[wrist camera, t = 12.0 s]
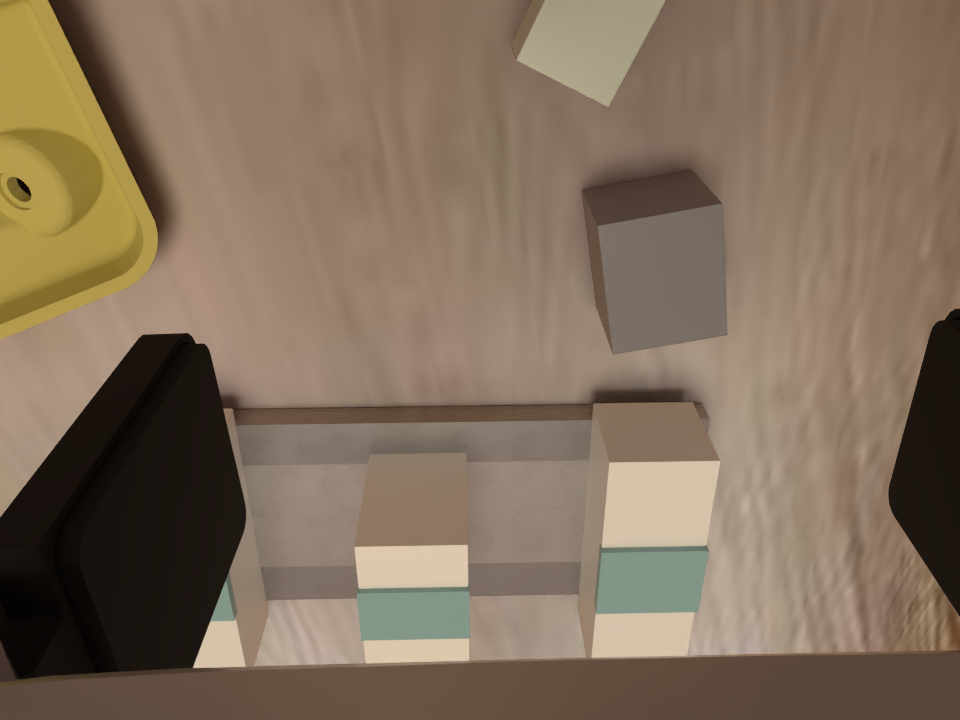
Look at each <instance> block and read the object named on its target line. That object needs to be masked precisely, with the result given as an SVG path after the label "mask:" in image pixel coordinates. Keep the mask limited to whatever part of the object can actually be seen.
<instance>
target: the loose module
mask: <svg viewBox="0 0 960 720" xmlns="http://www.w3.org/2000/svg"><path fill="white" fill-rule="evenodd" d="M354 547H355V558H356V568H357V578H358V589H357V601H358V611H359V621H360V631H361V641H364V649H365V659H366V663H401V662H439V661H469V639H470V599H469V584H468V524H467V453H413V454H370V455H369V461H368V467H367V473H366V479H365V486H364V492H363V498H362V504H361V510H360V516H359V522H358V528H357V534H356V540H355V546H354Z"/></svg>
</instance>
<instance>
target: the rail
mask: <svg viewBox="0 0 960 720" xmlns="http://www.w3.org/2000/svg"><path fill="white" fill-rule="evenodd" d="M693 404H694V406H695V409H696V411H697V413H698V415H699V417H700V419H701V421H702V423H703V425H704V427H705V430H706V432H707V431H708V425H709V419H710V418H709V416H708V414H707V412H706V410H705V408H704V406H703V404H702V403H693ZM233 413H234V419H235V425H236V430H237V436H238V442H239V447H240V453H241V459H242V465H243V470H244V476H245V482H246V487H247V493H248V499H249V504H250V510H251V516H252V521H253V527H254V533H255V538H256V544H257V550H258V555H259V561H260V567H261V572H262V578H263V584H264V589H265V595H266V600H292V599H346V598H357V589H358V578H357V568H356V558H355V547H354V546H355V540H356V534H357V528H358V522H359V516H360V510H361V504H362V498H363V492H364V486H365V479H366V473H367V467H368V461H369V455H370V454H413V453H467V524H468V584H469V596H509V595H563V594H579V584H580V571H581V557H582V544H583V531H584V518H585V505H586V492H587V479H588V466H589V453H590V440H591V427H592V414H593V404H587V405H516V406H445V407H374V408H302V409H233Z"/></svg>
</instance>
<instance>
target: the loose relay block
mask: <svg viewBox="0 0 960 720" xmlns="http://www.w3.org/2000/svg"><path fill="white" fill-rule="evenodd" d="M582 197H583V205H584V213H585V221H586V229H587V237H588V245H589V253H590V261H591V269H592V277H593V285H594V293H595V301H596V308H597V310H598V313H599V316H600V319H601V322H602V325H603V328H604V331H605V333H606V336H607V339H608V342H609V345H610V348H611V351H612V353H613V354H619V353H625V352H631V351H637V350H643V349H649V348H655V347H660V346H666V345H672V344H678V343H684V342H690V341H696V340H702V339H707V338H713V337H719V336H725V335H727V313H726V288H725V262H724V237H723V212H722V203H721V202H720V201H719V200H718V198H717V197H716V196H715V195H714V194H713V193H712V192H711V191H710V190H709V189H708V187H707V186H706V185H705V184H704V183H703V182H702V181H701V180H700V179H699V178H698V176H697V175H696V174H695V173H694V172H693V171H692V170H687V171H681V172H676V173H671V174H665V175H660V176H654V177H649V178H643V179H638V180H633V181H627V182H622V183H616V184H611V185H605V186H600V187H595V188H589V189H584V190H582Z"/></svg>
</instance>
